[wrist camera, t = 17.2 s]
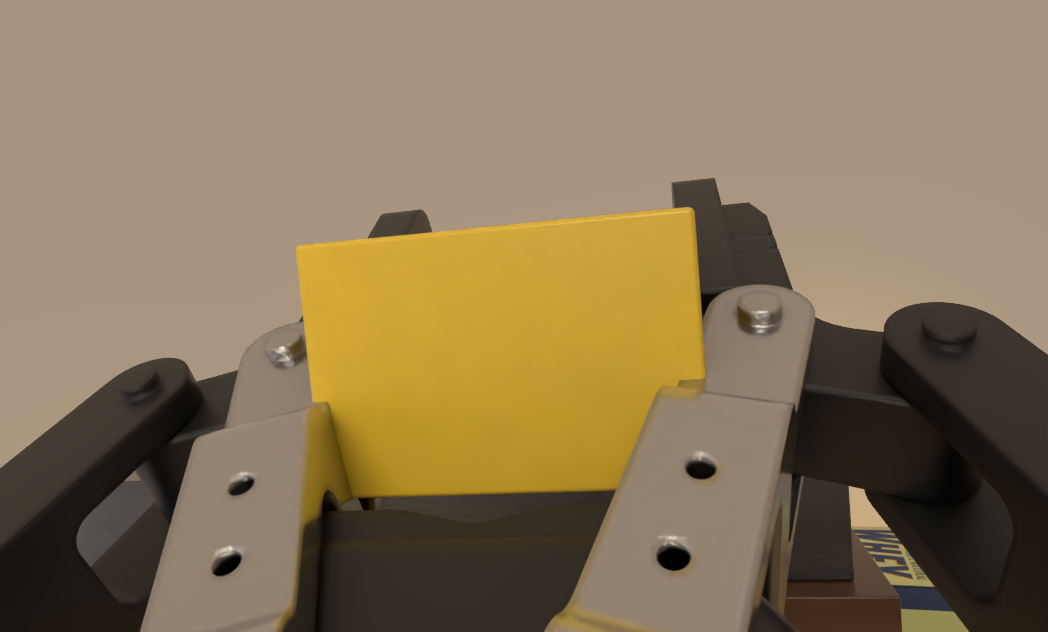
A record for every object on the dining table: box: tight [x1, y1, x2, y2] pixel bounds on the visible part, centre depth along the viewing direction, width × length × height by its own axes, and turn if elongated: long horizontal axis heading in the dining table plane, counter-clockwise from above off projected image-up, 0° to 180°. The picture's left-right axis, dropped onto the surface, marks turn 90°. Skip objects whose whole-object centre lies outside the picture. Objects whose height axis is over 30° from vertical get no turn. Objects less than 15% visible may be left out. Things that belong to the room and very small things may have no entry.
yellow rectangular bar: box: [296, 207, 706, 498], centre depth 21 cm, size 27×4×3 cm, turn 170°
